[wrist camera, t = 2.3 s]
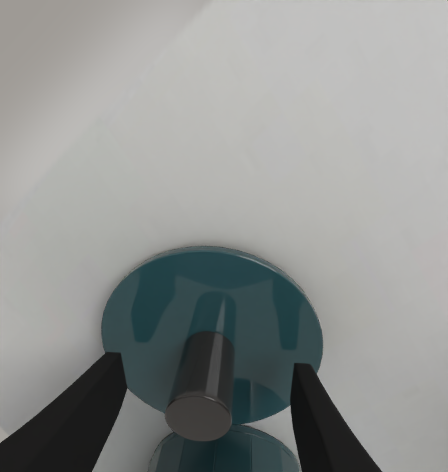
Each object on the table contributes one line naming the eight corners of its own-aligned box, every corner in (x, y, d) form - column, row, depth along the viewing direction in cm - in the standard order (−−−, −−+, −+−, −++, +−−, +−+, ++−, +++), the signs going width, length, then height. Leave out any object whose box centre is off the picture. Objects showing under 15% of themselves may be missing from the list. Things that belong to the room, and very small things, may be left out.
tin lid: (85, 357, 15) (27, 441, 11) (160, 197, 11) (112, 236, 7) (248, 430, 16) (248, 529, 12) (363, 306, 12) (418, 392, 8)
